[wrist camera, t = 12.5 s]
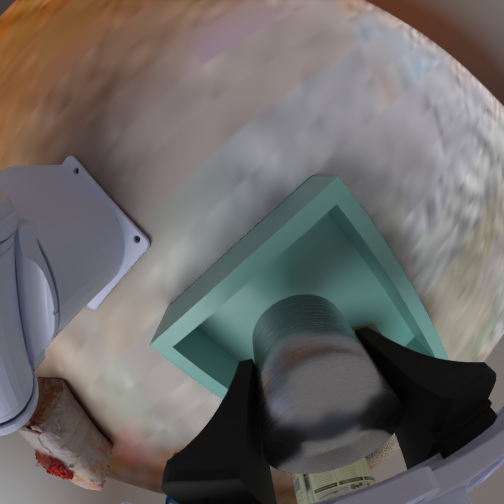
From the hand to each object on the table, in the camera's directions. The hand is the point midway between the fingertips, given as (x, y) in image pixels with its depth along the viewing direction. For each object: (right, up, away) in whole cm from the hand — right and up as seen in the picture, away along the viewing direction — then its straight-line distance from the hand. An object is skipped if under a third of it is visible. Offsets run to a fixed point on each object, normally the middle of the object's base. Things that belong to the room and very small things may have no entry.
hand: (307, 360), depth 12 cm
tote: (+2, -1, +8) cm, 9 cm away
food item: (-25, -15, +12) cm, 31 cm away
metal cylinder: (0, +1, +2) cm, 2 cm away
